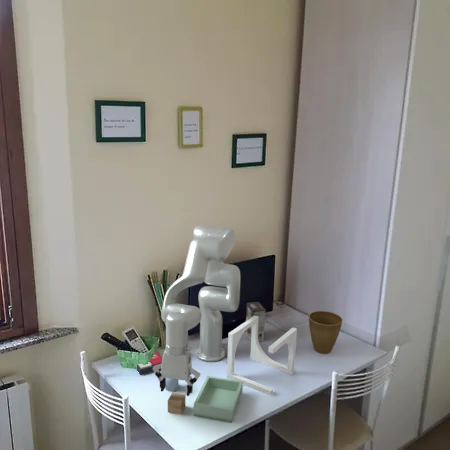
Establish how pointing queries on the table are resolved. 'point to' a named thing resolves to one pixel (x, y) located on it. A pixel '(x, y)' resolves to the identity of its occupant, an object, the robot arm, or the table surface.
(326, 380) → the table surface
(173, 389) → the cylinder
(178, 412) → the cube
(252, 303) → the coffee box
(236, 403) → the tote
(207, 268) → the robot arm
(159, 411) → the table surface
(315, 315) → the plant pot
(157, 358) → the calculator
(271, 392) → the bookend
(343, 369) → the table surface
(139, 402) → the table surface
